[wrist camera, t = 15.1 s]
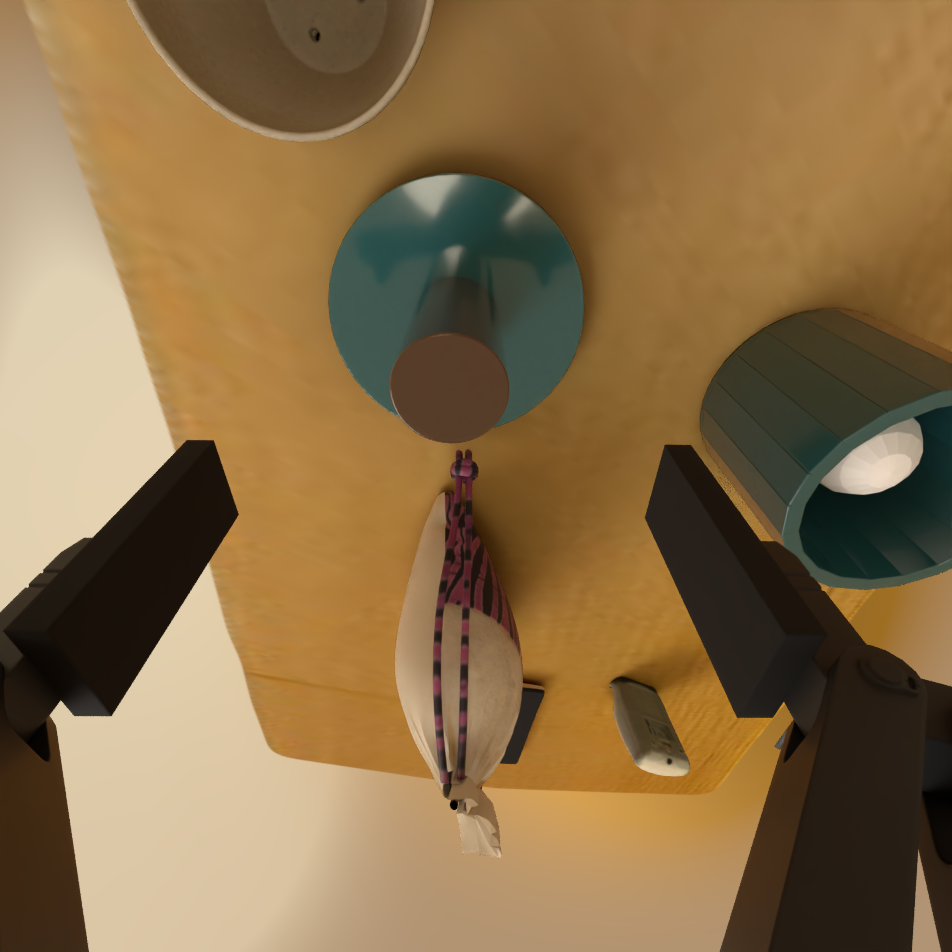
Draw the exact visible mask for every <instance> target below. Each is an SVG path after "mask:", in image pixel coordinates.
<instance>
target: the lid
mask: <svg viewBox="0 0 952 952" xmlns="http://www.w3.org/2000/svg"><path fill="white" fill-rule="evenodd" d="M328 304H329V315H330V322H331V327H332V331H333V336H334V339H335V342H336V345H337V347H338V350H339V353H340V355H341V357H342V359H343V361H344V363H345V365H346V367H347V368H348V370H349V371H350V373H351V374H352V376H353V377H354V379H355V380H356V381H357V383H358V384H359V385H360V386H361V387H362V388H363V390H364V391H365V392H366V393H367V394H368V395H369V396H370V397H371V398H372V399H374V400H375V401H376V402H377V403H378V404H380V405H381V406H382V407H384V408H385V409H386V410H388V411H389V412H391V413H392V414H394V415H396V416H398V417H399V418H401V419H402V421H403V422H404V423H405V424H406V425H407V426H408V427H409V428H410V429H412V430H413V431H414V432H416V433H417V434H419V435H421V436H423V437H425V438H427V439H430V440H433V441H437V442H442V443H460V442H466V441H469V440H473V439H475V438H477V437H479V436H481V435H483V434H485V433H486V432H487V431H489V430H490V429H491V428H494V427H497V426H501V425H503V424H506V423H508V422H510V421H513V420H515V419H517V418H518V417H520V416H522V415H524V414H526V413H527V412H528V411H530V410H531V409H533V408H534V407H535V406H537V405H538V404H539V403H540V402H541V401H542V400H543V399H545V398H546V397H547V396H548V395H549V394H550V393H551V391H552V390H553V389H554V388H555V387H556V386H557V384H558V383H559V382H560V380H561V379H562V377H563V376H564V374H565V373H566V371H567V370H568V368H569V366H570V364H571V362H572V360H573V358H574V355H575V353H576V350H577V347H578V344H579V341H580V337H581V332H582V327H583V319H584V290H583V285H582V279H581V274H580V270H579V267H578V264H577V261H576V258H575V255H574V253H573V251H572V249H571V247H570V245H569V243H568V241H567V239H566V237H565V236H564V235H563V233H562V232H561V230H560V229H559V227H558V226H557V224H556V223H555V222H554V221H553V220H552V218H551V217H550V216H549V215H548V214H547V213H546V212H545V211H544V210H543V208H541V207H540V206H539V205H538V204H537V203H535V202H534V201H533V200H532V199H531V198H529V197H528V196H527V195H525V194H523V193H522V192H520V191H518V190H517V189H515V188H513V187H512V186H510V185H507V184H505V183H502V182H500V181H498V180H495V179H492V178H488V177H485V176H481V175H477V174H469V173H458V172H453V173H437V174H432V175H428V176H423V177H418V178H416V179H413V180H411V181H408V182H405V183H403V184H401V185H399V186H397V187H395V188H394V189H392V190H390V191H388V192H387V193H385V194H383V195H382V196H381V197H379V198H378V199H377V200H376V201H374V202H373V203H372V204H371V205H369V206H368V207H367V208H366V210H365V211H364V212H363V213H362V214H361V215H360V216H359V217H358V218H357V219H356V221H355V222H354V223H353V225H352V226H351V228H350V229H349V231H348V232H347V234H346V235H345V237H344V239H343V241H342V244H341V246H340V248H339V250H338V252H337V255H336V258H335V261H334V264H333V267H332V272H331V278H330V284H329V302H328Z"/></svg>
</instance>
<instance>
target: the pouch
mask: <svg viewBox="0 0 952 952" xmlns="http://www.w3.org/2000/svg"><path fill="white" fill-rule="evenodd" d="M450 473H451V477H452V478H453V479H454V480H455V496H454V495H453V494H452V493H450V492H444V493H441V494H439V496H438V497H437V498H436V500H435V502H434V505H433V507H432V510H431V512H430V515H429V517H428V519H427V521H426V523H425V526H424V529H423V532H422V535H421V539H420V542H419V546H418V550H417V553H416V556H415V560H414V564H413V567H412V571H411V575H410V579H409V583H408V587H407V591H406V595H405V599H404V603H403V608H402V613H401V617H400V622H399V628H398V635H397V642H396V653H395V674H396V681H397V688H398V693H399V697H400V701H401V705H402V708H403V711H404V713H405V716H406V719H407V722H408V726H409V729H410V732H411V734H412V736H413V738H414V741H415V743H416V745H417V747H418V749H419V751H420V752H421V754H422V756H423V758H424V760H425V761H426V763H427V765H428V767H429V768H430V770H431V772H432V775H433V777H434V780H435V782H436V784H437V786H438V788H439V789H440V791H441V793H442V794H443V796H444V797H445V798H447V799H450V800H451V802H450V807H451V808H452V809H453V810H456V809H457V807H458V809H457V817H458V821H459V825H460V834H461V843H462V851H463V854H468V853H474V852H478V851H479V852H480V855H484V856H486V855H487V856H494V857H498V858H499V857H501V848H500V835H499V825H498V822H497V818H496V814H495V810H494V807H493V803H492V802H491V801H490V800H489V798H488V797H487V796H486V795H485V793H484V792H483V791H482V785H483V784H484V783H485V781H486V780H487V779H488V778H489V777H490V776H491V775H492V773H493V772H494V771H495V769H496V768H497V767H498V765H499V764H500V762H501V760H502V758H503V756H504V754H505V751H506V747H507V745H508V743H509V741H510V738H511V736H512V734H513V730H514V727H515V724H516V721H517V718H518V715H519V711H520V705H521V699H522V688H523V668H522V656H521V648H520V641H519V637H518V632H517V628H516V624H515V620H514V617H513V614H512V611H511V608H510V605H509V602H508V600H507V597H506V594H505V592H504V589H503V587H502V584H501V582H500V580H499V578H498V575H497V572H496V570H495V568H494V566H493V564H492V561H491V559H490V557H489V555H488V552H487V550H486V548H485V546H484V544H483V542H482V540H481V537H480V536H479V534H478V532H477V530H476V528H475V526H474V524H473V522H472V481H474V480H475V479H476V478H477V477H478V466H477V464H476V463H475V462H474V461H472V452H471V451H470V450H469V449H468V450H466V452H465V458H463V454H462V451H460V450H457V451H456V461H455V462H454V463H453V464H452V466H451V469H450ZM465 483H466V510H465V508H464V507H463V506H462V505H461V494H462V484H465ZM458 801H459V805H458Z"/></svg>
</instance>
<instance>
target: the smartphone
mask: <svg viewBox="0 0 952 952" xmlns="http://www.w3.org/2000/svg"><path fill="white" fill-rule="evenodd" d="M543 696H544V687H542V686H537V685H532V684H525V683H523V688H522V699H521V705H520V711H519V715H518V718H517V721H516V724H515V727H514V730H513V734H512V736H511V738H510V741H509V743H508V745H507V747H506V751H505V754H504V756H503V758H502V760H501V762H500V763H503V764H516V763H517V762H518V760H519V757H520V755H521V752H522V750H523V747H524V744H525V742H526V739H527V736H528V734H529V731H530V729H531V726H532V723H533V721H534V718H535V716H536V713H537V711H538V708H539V706H540V703H541V701H542V699H543Z"/></svg>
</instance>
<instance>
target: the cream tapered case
mask: <svg viewBox="0 0 952 952" xmlns="http://www.w3.org/2000/svg"><path fill="white" fill-rule="evenodd" d="M610 688H612V689H613V693H614V707H613V715H614V719H615V722H616V724H617V727H618V730H619V733H620V735H621V738H622V740H623V742H624V744H625V746H626V748H627V750H628V752H629V753H630V755H631V757H632V759H633V761H634V763H635V764H636V765H637V766H638V767H639V768H641V769H643V770H645V771H647V772H651V773H654V774H658V775H665V776H682V775H686V774H687V773H688V772H689V770H690V763H689V760H688V757H687V755H686V754H685V751H684V749H683V747H682V745H681V743H680V741H679V738H678V736H677V734H676V732H675V730H674V728H673V725H672V723H671V721H670V719H669V717H668V714H667V712H666V709H665V707H664V705H663V703H662V701H661V699H660V697H659V695H658V694H657V692H656V690H655V689H654V688H653V687H651V686H647V685H645V684H642V683H639V682H636V681H634V680H631V679H628V678H618V679H616V680H614V681H613V682H612V683H611V684H610Z"/></svg>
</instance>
